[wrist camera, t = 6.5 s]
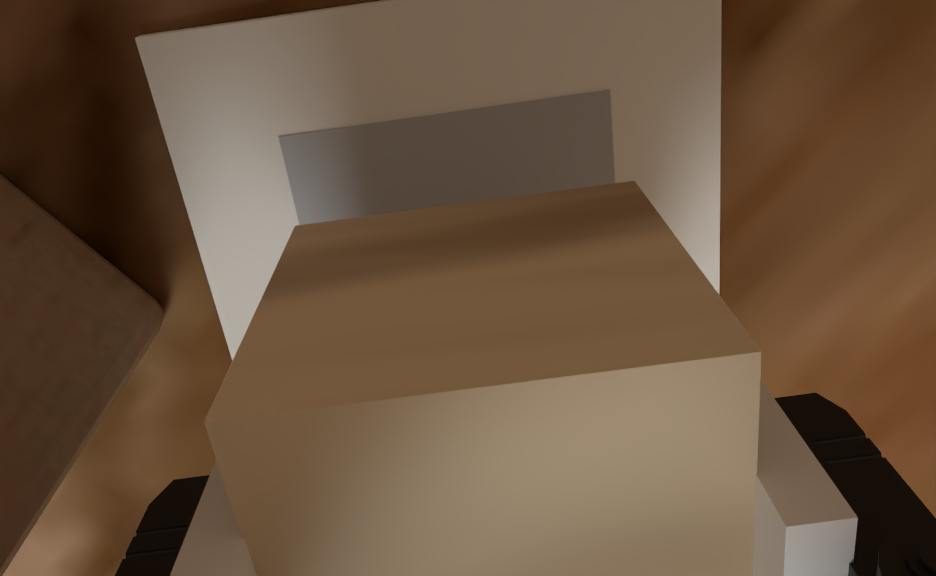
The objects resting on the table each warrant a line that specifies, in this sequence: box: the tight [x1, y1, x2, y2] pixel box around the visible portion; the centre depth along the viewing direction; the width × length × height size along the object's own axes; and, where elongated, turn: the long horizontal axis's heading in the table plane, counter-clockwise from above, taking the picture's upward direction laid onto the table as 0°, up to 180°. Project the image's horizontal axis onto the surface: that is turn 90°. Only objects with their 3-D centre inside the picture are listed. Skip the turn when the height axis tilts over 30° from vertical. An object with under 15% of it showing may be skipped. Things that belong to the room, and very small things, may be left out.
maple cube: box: [204, 181, 761, 576], centre depth 12 cm, size 6×6×6 cm
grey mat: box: [135, 0, 722, 361], centre depth 19 cm, size 12×12×1 cm
